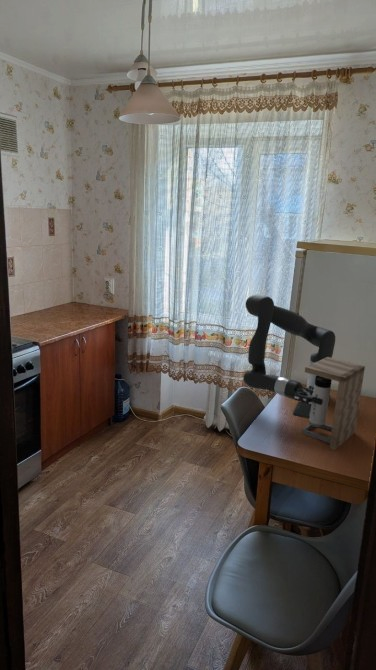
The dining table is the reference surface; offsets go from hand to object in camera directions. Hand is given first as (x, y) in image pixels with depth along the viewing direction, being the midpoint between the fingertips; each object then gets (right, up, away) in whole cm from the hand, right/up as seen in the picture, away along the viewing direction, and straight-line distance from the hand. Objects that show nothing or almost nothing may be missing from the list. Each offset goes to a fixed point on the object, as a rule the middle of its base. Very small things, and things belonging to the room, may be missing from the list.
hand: (325, 400), depth 181 cm
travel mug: (-2, -10, +4) cm, 11 cm away
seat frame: (-1, -14, +3) cm, 14 cm away
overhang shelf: (+1, -14, +2) cm, 14 cm away
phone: (-2, -9, +25) cm, 27 cm away
